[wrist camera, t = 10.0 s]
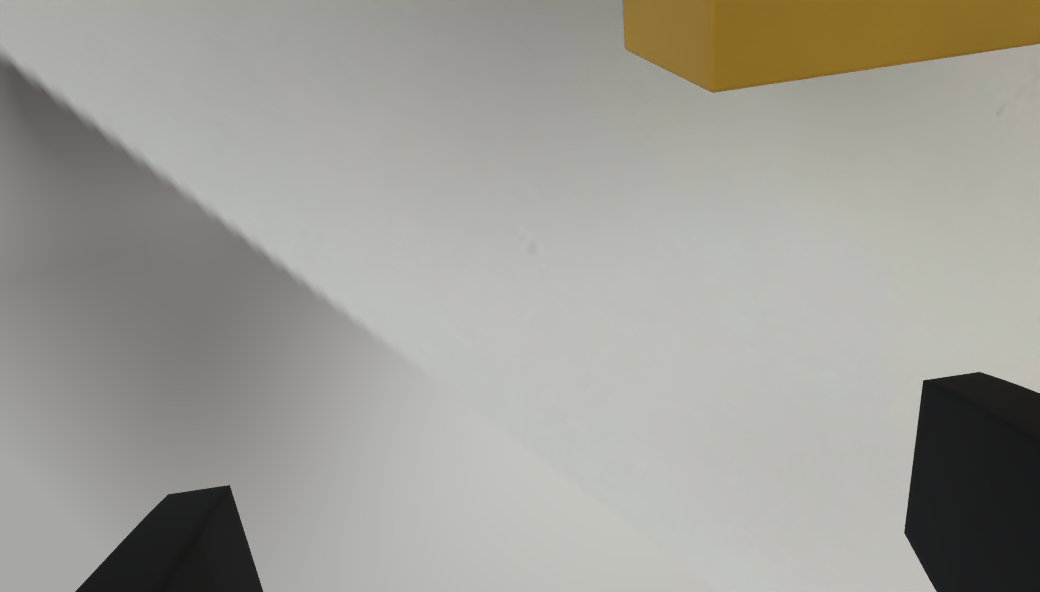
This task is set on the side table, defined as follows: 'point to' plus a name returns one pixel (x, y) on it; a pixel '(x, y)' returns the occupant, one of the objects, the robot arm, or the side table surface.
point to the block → (816, 35)
